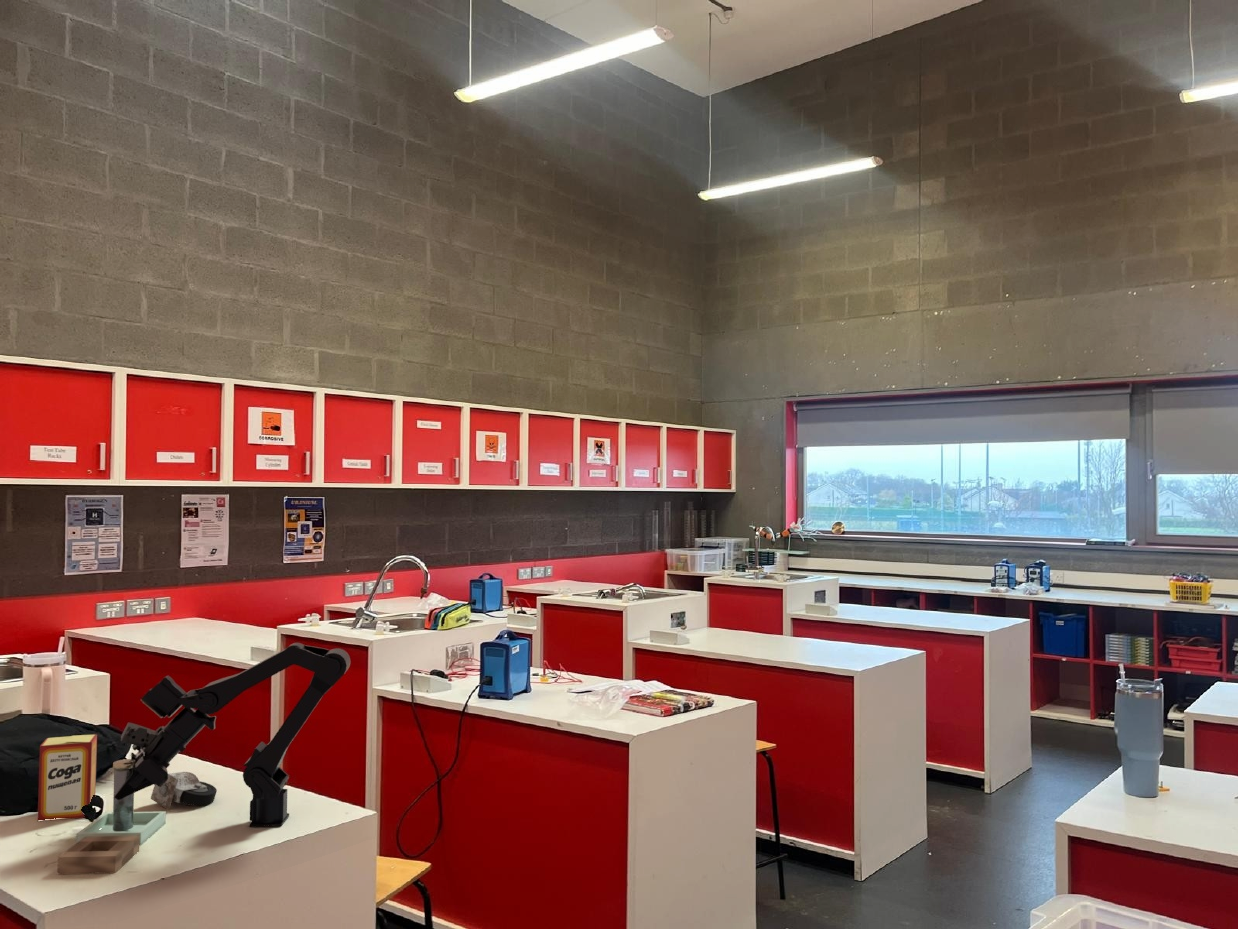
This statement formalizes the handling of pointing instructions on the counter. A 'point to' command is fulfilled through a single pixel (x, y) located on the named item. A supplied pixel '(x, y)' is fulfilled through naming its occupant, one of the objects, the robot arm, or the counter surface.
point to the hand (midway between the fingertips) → (116, 795)
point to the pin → (125, 805)
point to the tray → (142, 826)
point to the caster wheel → (183, 791)
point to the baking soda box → (66, 776)
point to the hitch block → (98, 854)
